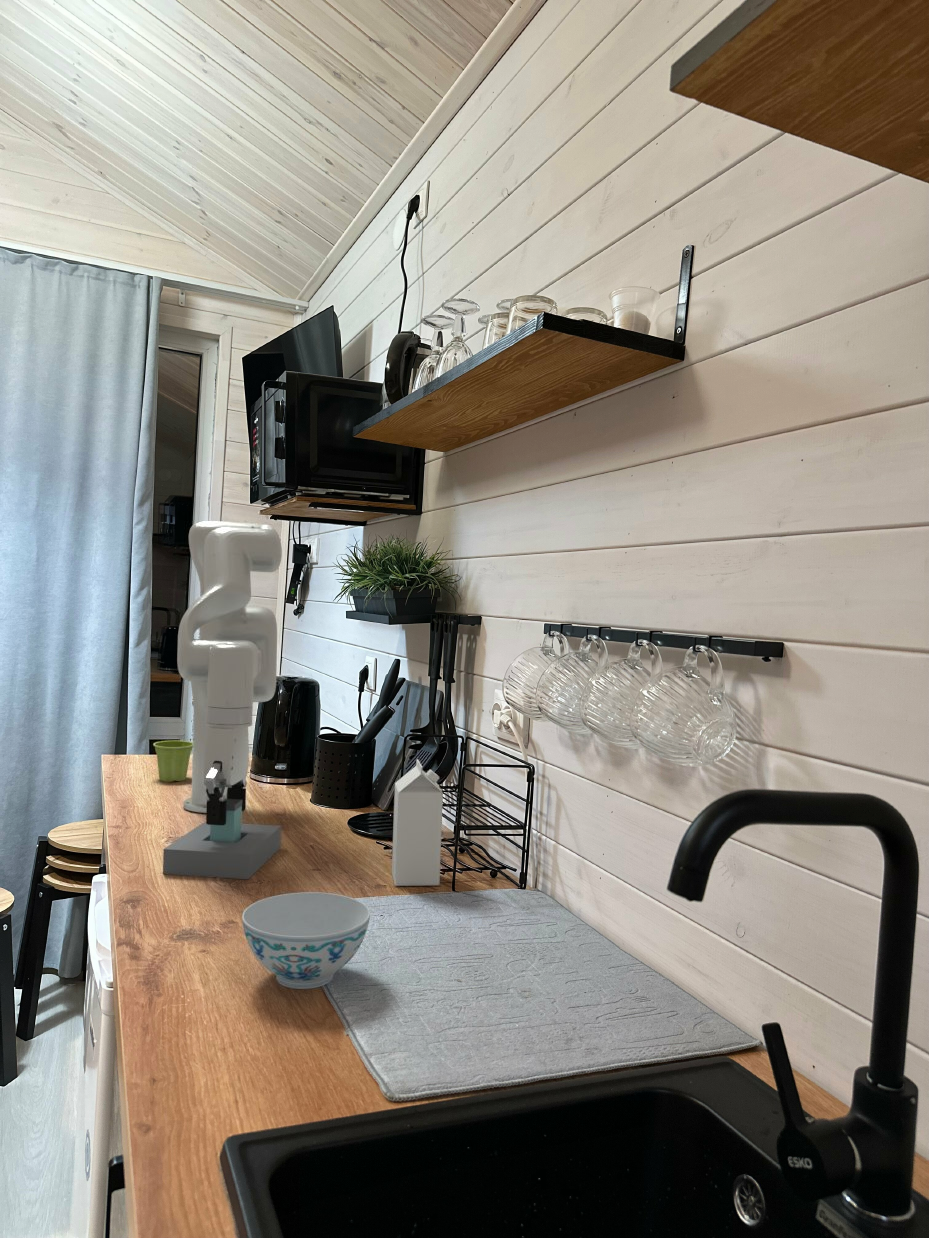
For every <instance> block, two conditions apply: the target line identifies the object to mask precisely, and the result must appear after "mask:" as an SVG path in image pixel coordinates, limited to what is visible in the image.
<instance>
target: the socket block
mask: <svg viewBox="0 0 929 1238" xmlns="http://www.w3.org/2000/svg"><path fill="white" fill-rule="evenodd" d="M281 838H282V825H271V824H267V825H266V824H254V823H253V824H252V823H250V824H249V823H241V840H240V841H239V842H237V843H235V842H218V841H210V825H208V824H206V820H205V821H203V822H202V823H200V824H199V825H197V826H195V828H193V829H191V830H190V831H188V832H187V833H186V834H184V835H182V836H181V837H180V838H177V840H175V841H174V842H172V843H170V844H169V845H167V846H166V847H164V848H163V852H162V853H163V855H162V857H163V859H162V863H163V864H162V874H164V875H174V876H188V877H189V876H191V877H207V878H208V877H209V878H220V879H221V878H223V879H236V880H238V879H239V880H249V879H250V878H252V876H253V875H254V874H256V872H258V871H259V870H260V869H261V868H262V867H263V866H264V865H265V864H266V863H267V862H268V861H269V860H270V859H271V858H272V857H273V856H274V855H275V854H276V853H277V852H278V851H279V850H280V849H281V844H282V839H281Z"/></svg>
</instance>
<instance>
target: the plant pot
mask: <svg viewBox="0 0 929 1238" xmlns="http://www.w3.org/2000/svg"><path fill="white" fill-rule="evenodd" d="M152 745H153V747H154V749H155V753H156V759H157V760H156V761H157V769H158V770H157V771H158V779H159V780H160V781H161V782H165V783H167V782H168V783H172V782H176V781H177V782H183V781H185V780H186V779H187V776H188V775H187V774H188V771H189V770H188V769H189V765H190V764H189V763H190V757H191V753H193V741H190V740H189V741H188V740H161V741H156V742H153V744H152Z"/></svg>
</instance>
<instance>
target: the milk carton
mask: <svg viewBox="0 0 929 1238" xmlns="http://www.w3.org/2000/svg"><path fill="white" fill-rule="evenodd" d="M439 780H440V776H439V775H438V774H437V773H435V771H433V770H432V769H429V770H427V772H426V771H424V770H423V765H422V764H421V761H420V760H419V758H417V759H416V764H415V766H414V767H413V768H411V769H410V770H408V772H407V773H406V774H404V775H403V776H402V777H400V779H398V780H397V781H395V783H394V799H393V804H394V805H393V826H392V828H393V829H392V831H393V832H392V854H391V858H392V860H391V875H392V879H393V883H394V886H395V887H400V886H401V887H402V886H405V887H409V886H411V887H412V886H414V887H415V886H440V882H441V881H440V878H441V877H440V876H441V850H442V849H441V848H442V847H441V846H442V827H443V826H442V824H443V822H442V821H443V820H442V819H443V801H444V800H443V799H444V794H443V790H442V788H441V787H440V785H439V784H438V783H437V782H438V781H439Z"/></svg>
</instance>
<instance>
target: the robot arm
mask: <svg viewBox="0 0 929 1238" xmlns="http://www.w3.org/2000/svg"><path fill="white" fill-rule="evenodd" d="M188 545H189V552H190V555H191V560H192V561H193V565H194V568H195V570H196V572H197V576H198V579H199V580H198V581H199V587H200V590H199V597H198V598H197V599H196V600H194V602H192V603H191V605H190V606H189V607H188V608H187V609H186V611H185V613H184V614H183V616H182V618H181V620H180V623H179V626H178V634H177V654H176V655H177V658H176V659H177V660H176V661H177V662H176V663H177V671H178V673H179V675H180V677H181V678H182V679H184V680H185V681H186V682H187V681H188V682H190V686H191V694H192V695H191V696H192V702H193V703H192V704H193V705H192V706H193V728H192V729H193V733H192V734H193V735H192V742H193V748H192V765H191V766H192V768H191V769H192V770H191V797H190V798H189V797H188V798H187V799H185V800H184V801H183V805H182V807H183V808H184V810H186V811H190V812H192V813H193V812H194V813H202V814H205V821H206V824H208V825H225V824H226V813H227V801H225V799H239V800H242V812H244V811H246V806H247V805H246V804H247V803H246V802H247V798H246V797H247V786H248V785H247V784H248V783H247V780H246V779H247V776H248V773H249V759H250V758H249V755H250V754H249V753H250V750H249V749H250V748H249V747H250V744H249V742H250V740H249V727H252V726H253V709H254V708H253V707H254V705H253V703H265V702H268V701H270V700H272V699H273V698H274V696H275V693H276V688H277V668H278V667H277V661H278V624H277V619H276V615H275V613H274V611H272V610H271V609H270V608H268V607H264V606H257V605H256V606H254V605H253V606H251V605H248V604H249V603H250V601H251V598H252V582H251V580H252V579H251V572H258V573H259V572H260V573H273V572H276V571H277V570H278V569H279V567H280V565H281V564H282V563H281V562H282V557H283V556H282V555H283V549H282V543H281V538H280V536H279V534H278V532H277V529H275V528H274V526H272V525H271V524H267V523H256V522H255V523H253V522H251V523H250V522H239V521H236V522H235V521H223V520H204V521H200V522H196V523H193V525H192V526H191V527H190V528H189V533H188ZM198 630H199V638H195V633H196V631H198Z"/></svg>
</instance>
